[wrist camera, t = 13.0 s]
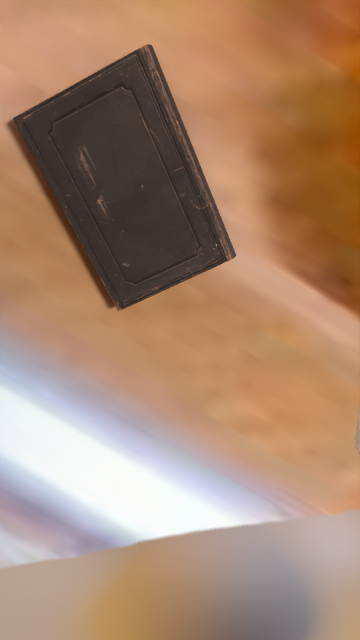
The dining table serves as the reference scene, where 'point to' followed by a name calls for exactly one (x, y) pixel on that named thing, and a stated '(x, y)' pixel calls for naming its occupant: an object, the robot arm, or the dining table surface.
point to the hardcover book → (128, 178)
